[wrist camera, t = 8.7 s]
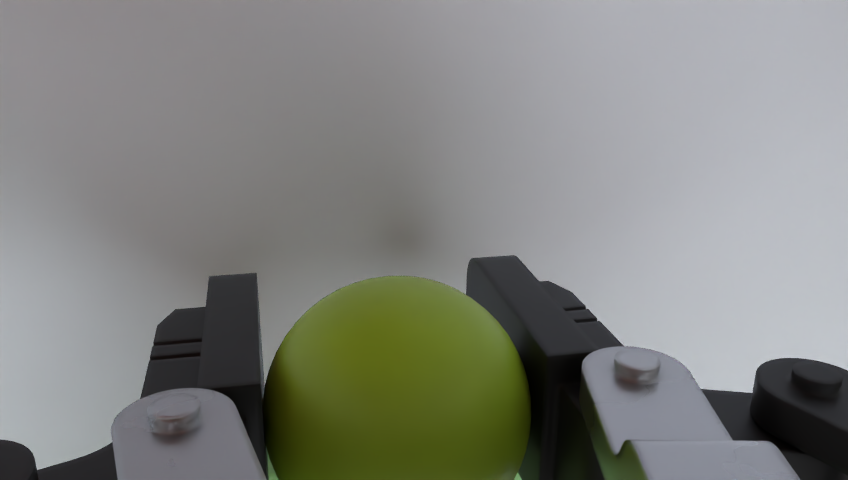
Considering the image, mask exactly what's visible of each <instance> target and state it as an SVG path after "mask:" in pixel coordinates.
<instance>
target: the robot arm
mask: <svg viewBox="0 0 848 480" xmlns="http://www.w3.org/2000/svg"><path fill="white" fill-rule="evenodd" d="M466 295H467V296H469V297H471V298H472V299H473V300H474V301H476V302H477V303H478V304H480V305H481V306H482V307H484V308H485V309H486V310H487V311H488V312H489V313H490V314H491V315H492V316H493V317H494V318H495V319H496V320H497V321H498V322H499V323H500V325H501V326H502V327H503V329H504V330H505V331H506V332H507V334H508V335H509V337H510V339H511V340H512V342H513V344H514V345H515V347H516V349H517V351H518V353H519V356H520V358H521V360H522V363H523V365H524V369H525V372H526V376H527V379H528V384H529V390H530V396H531V425H530V434H529V439H528V444H527V449H526V452H525V455H524V458H523V461H522V464H521V466H520V468H519V471H518V473H519V475H520V477H521V479H522V480H848V371H847V370H845V369H842V368H840V367H837V366H834V365H831V364H827V363H823V362H819V361H814V360H808V359H799V358H783V359H775V360H771V361H768V362H765V363H763V364H762V365H760V366H759V367H758V369H757V371H756V375H755V381H754V387H753V393H744V392H731V391H718V390H707V389H700V387H699V386H698V384H697V382H696V381H695V379H694V378H693V376H692V374H691V373H690V371H689V370H688V369H687V368H686V367H685V366H684V365H683V364H682V363H681V362H679V361H677V360H676V359H674V358H672V357H670V356H668V355H666V354H663V353H660V352H657V351H653V350H650V349H645V348H639V347H628V346H623V345H622V344H621V343H620V342H619V341H618V340H617V339H616V338H615V337H614V335H613V334H612V333H611V332H610V331H609V330H608V329H607V328H606V327H605V326H604V325H603V324H602V323H601V322H600V321H597V318H596V317H595V316H594V315H593V314H592V313H591V312H590V311H589V310H588V309H586V306H585V305H584V304H583V303H582V302H581V301H580V300H579V299H578V298H577V297H576V296H575V295H574V294H573V293H572V292H570V291H568V290H566V289H564V288H562V287H560V286H558V285H556V284H554V283H552V282H549V281H540V282H539V281H538V280H537V279H536V278H535V276H534V275H533V274H532V273H531V272H530V271H529V270H528V269H527V267H526V266H525V265H524V264H523V263H522V262H521V261H520V260H519V259H518V257H516V256H514V255H512V256H497V257H483V258H472V259H471V260H470V261H469V264H468V269H467V286H466ZM153 343H154V346H153V347H152V351H151V355H150V361H149V364H148V368H147V372H146V377H145V381H144V385H143V389H142V394H141V398H140V399H139V400H137V401H136V402H134V403H132V404H130V405H129V406H127V407H126V408H125V409H123V410H122V411H121V412H120V413H119V414H118V415H117V417H116V418H115V420H114V421H113V424H112V426H111V435H112V443H110V444H109V445H107V446H105V447H103V448H101V449H100V450H98V451H95V452H93V453H91V454H88V455H86V456H83V457H80V458H77V459H74V460H71V461H67V462H64V463H60V464H57V465H53V466H50V467H47V468H43V469H40V470H37V468H36V463H35V458H34V456H33V453H32V452H31V451H30V450H29V449H28V448H27V447H25V446H24V445H22V444H19V443H16V442H13V441H8V440H0V480H269V475H268V453H267V448H266V444H265V432H264V416H263V396H264V374H263V359H262V344H261V329H260V315H259V300H258V286H257V274H256V273H249V274H235V275H221V276H209V282H208V291H207V300H206V307H199V308H186V309H175V310H174V311H173V312H172V313H171V314H170V315H169V316H167V317H166V318H165V319H164V320H163V321H162V322H161V323H160V324H158V325H157V330H156V334H155V338H154V342H153Z"/></svg>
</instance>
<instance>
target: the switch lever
mask: <svg viewBox="0 0 848 480" xmlns="http://www.w3.org/2000/svg"><path fill="white" fill-rule="evenodd" d="M263 416H264V432H265V444H266V448H267V452H268V455H269V459H270V461H271V464H272V466H273V468H274V471H275V473H276V476H277V477H278V479H279V480H514V479H515V477H516V475H517V473H518V471H519V468H520V466H521V464H522V461H523V458H524V455H525V452H526V449H527V444H528V439H529V434H530V425H531V396H530V390H529V384H528V379H527V376H526V372H525V369H524V365H523V363H522V360H521V358H520V356H519V353H518V351H517V349H516V347H515V345H514V344H513V342H512V340H511V339H510V337H509V335H508V334H507V332H506V331H505V330H504V329H503V327H502V326H501V325H500V323H499V322H498V321H497V320H496V319H495V318H494V317H493V316H492V315H491V314H490V313H489V312H488V311H487V310H486V309H485V308H484V307H482V306H481V305H480V304H478V303H477V302H476V301H474V300H473V299H472V298H471V297H469V296H467V295H466V294H464V293H462V292H460V291H459V290H457V289H455V288H453V287H450V286H448V285H445V284H443V283H440V282H437V281H433V280H430V279H426V278H421V277H413V276H384V277H377V278H370V279H366V280H363V281H359V282H356V283H353V284H350V285H348V286H345V287H343V288H341V289H338V290H336V291H335V292H333V293H331V294H330V295H328V296H326V297H325V298H323V299H322V300H320V301H319V302H318V303H316V304H315V305H314V306H313V307H311V308H310V309H309V310H308V311H307V312H306V313H305V314H304V315H303V316H302V317H301V318H300V319H299V320H298V321H297V322H296V323H295V324H294V326H293V327H292V328H291V330H290V331H289V332H288V334H287V335H286V336H285V338H284V340H283V341H282V343H281V345H280V347H279V348H278V350H277V352H276V354H275V357H274V359H273V361H272V364H271V366H270V369H269V373H268V376H267V380H266V384H265V389H264V396H263Z"/></svg>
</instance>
